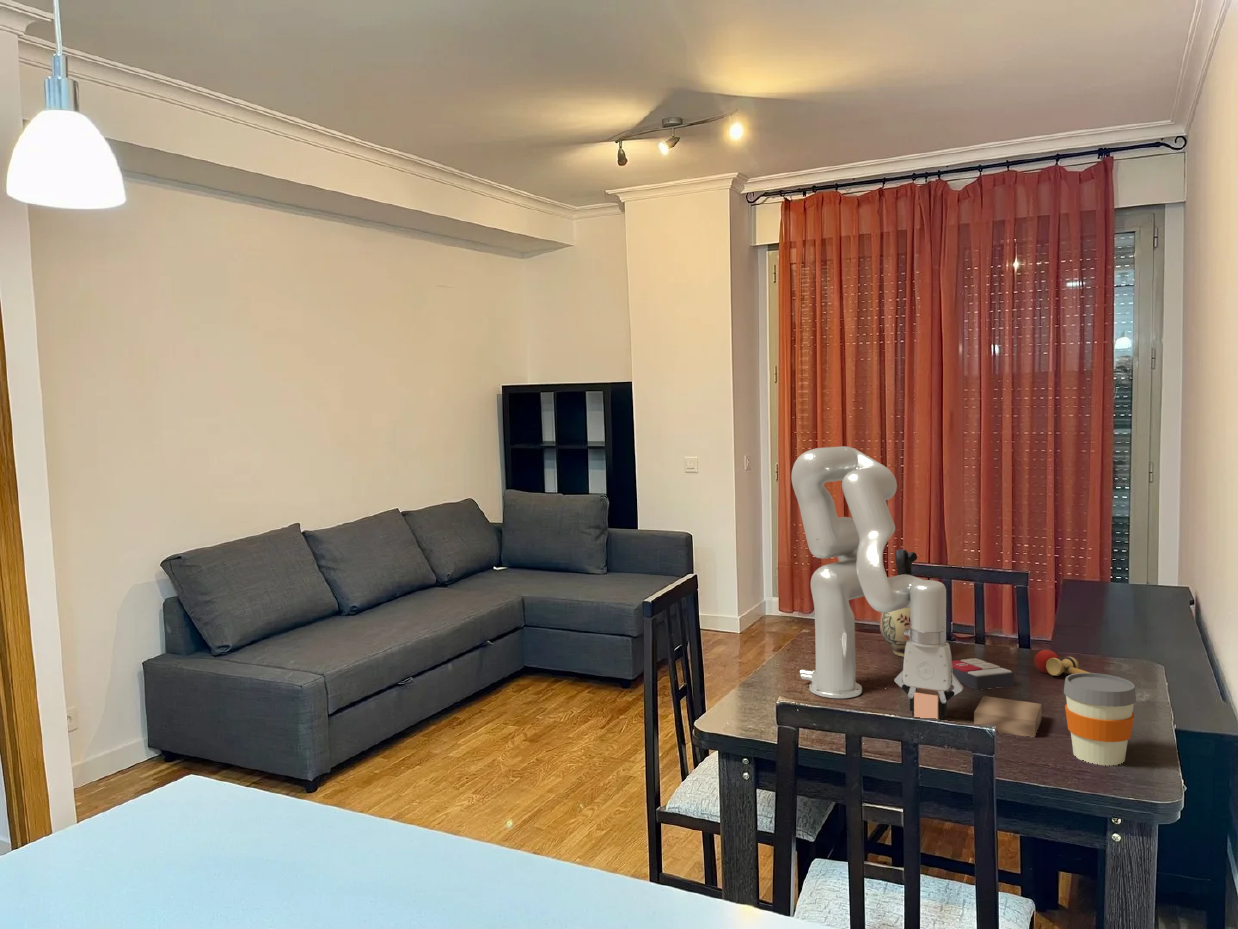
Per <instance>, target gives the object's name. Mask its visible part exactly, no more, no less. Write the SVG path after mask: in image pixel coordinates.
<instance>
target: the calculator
mask: <svg viewBox="0 0 1238 929" xmlns="http://www.w3.org/2000/svg"><path fill="white" fill-rule="evenodd" d="M952 667H953V675H954V676H955V677H956V679H957V680H958V681H959V682H961V683H960V684H963V685H965V686H966V687H968V686H969V687H968V688H970V687H972V688H974V689H976V690H975V691H977V690H979V691H982V690H981V689H988V688H996V687H1004V688H1009V687H1010V688H1011V687H1015V672H1013V671H1012V670H1010V669H1007V668H1003V667H1001V666H999V665H997V664H994V663H992V662H987V661H985V660H982V659H979V658H975V657H974V658H973V657H972V658H965V659H960V660H958V659H957V660H956V659H955V660H952ZM972 688H971V689H972ZM974 689H973V690H974ZM996 689H997V688H996ZM988 690H989V689H988Z"/></svg>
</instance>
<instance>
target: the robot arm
mask: <svg viewBox="0 0 1238 929" xmlns="http://www.w3.org/2000/svg"><path fill="white" fill-rule="evenodd" d="M893 473H894V472H892V471H891V469H889V468H888V467H887V466H885V465H884V464H882V463H880V462H879V461H877V460H875V459H873V458H872V457H870V456H868V455H866V454H865V453H863V452H862V451H859V450H858V449H856V448H854V447H851V446H845V445H844V446H828V447H817V448H813V449H809V450H806V451H805V452H803V453H801V455H799V456H798V457H797V459H796V460H795V461H794V463H793V467H792V470H791V484H792V485H791V486H792V488H793V490H794V495H795V497H796V499H797V500H796V501H797V503H798V507H799V511H800V516H801V520H802V521H801V522H802V525H803V529H804V534H805V539H806V542H807V546H808V549H809V552H810V553H811V555H812V556H814V557H815V558H816V559H822V560H823V559H831V558H837V560H838V562H832V563H828V564H824V565H822V566H820V567H818V568H817V569H816V570H815V571H814V572H813V574H812V575H811V577H810V578H811V579H810V591H811V595H812V601H813V608H814V609H813V610H814V629H815V633H814V634H815V635H814V636H815V643H814V644H815V647H814V648H815V669H813V670H808V669H803V668H801V669H800V670H799V676H800V677H801V679H802V680H804V681H805V680H808V681H810V683H809V691H810V692H811V693H812V694H814V695H816V696H820V697H823V698H829V699H849V698H850V699H851V698H855V697H858V696H860V695H861V694H862V693H863V687H862V685H861V684H859V683H858V682H856V623H855V622H856V619H855V615H854V612H853V609H852V607H851V605H850V600H851V601H852V600H854V599H859V598H862V597H864V598H865V600H866V602H867V603H868V604H869V606H870V607H871V608H872V609H873V610H874V611H876V612H878V613H880V614H881V613H887V612H892V611H895V610H899V609H904V608H909V607H910V628H909V629H904V635H907V636H909V637H910V640H908V641H907V642H906V647H905V654H904V657H903V666H902V671H901V672H900V673H898V675H897V676H896V677H895V678H894V679H893V680H894V682H895V683H896V684H897V685H898V686H899V687H900V688H901V689H902V691H904V692H905V694H906V695H907V697H908V699H909V711H911V716H912V717H914V693H915V692H916V690H917V689H918V688H922V689H929V690H936V691H938V693H939V697H940V702H939V704H938V719H942V720H943V719H944V718H943V717H946V716H947V715H948V714H947V712H948V707H947V706H948V701H949V700H951V699H952V698H953V697H954V696H956V695H957V694H959V693H961V692H963V690H964V686H963V685H962V683H960V682H959V681H958V680H957V679H956V677H955V676H954V675H953V667H952V661H953V660H952V652H951V647H950V644H949V643H948V642H947V588H946V586H945V584H944V583H942V582H940V581H938V580H932V579H923V578H920V577H916V576H914V575H912V576H911V575H905V574H903V575H898V574H897V575H894V576H889V577H888V576H887V572H886V570H885V566H884V560H883V559H884V557H883V556H884V550H885V548H886V545H887V543H888V541H889V540H890V539H891V537H892V536H893V535H894V533H895V531H896V525H895V522H894V520H893V518H892V514H891V513H890V510H889V505H888V504H887V501H888V500H891V499H892V498H893V497H894V495H895V494H896V492H897V489H898V484H897V479H896V476H895V474H893ZM839 481H842V482H841V489H842V492H843V496H844V498H845V501H846V504H847V506H848V510H849V512H850V516H851V517H849V516H840V517H839V516H838V513H837V510H836V504H835V501H834V499H833V496H832V495H831V493H830V492H829V490H828V489H827V488H826V487H825V484H826V483H832V482H839ZM951 686H953V688H952V689H951Z"/></svg>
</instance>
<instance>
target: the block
mask: <svg viewBox="0 0 1238 929" xmlns="http://www.w3.org/2000/svg"><path fill="white" fill-rule="evenodd" d="M939 702H940V697H939V693H938V691H936V690H929V689H922V688H918V689H917V690H916V692H915V693H914V716H913V718H914V717H920V718H936V719H938V704H939Z"/></svg>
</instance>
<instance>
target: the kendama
mask: <svg viewBox="0 0 1238 929" xmlns="http://www.w3.org/2000/svg"><path fill="white" fill-rule="evenodd" d="M1034 665H1035V667H1036V669H1038V670H1039V671H1040V672H1042V673H1044V674H1047V673H1048V675H1050V676H1056V677H1057V676H1060V675H1062V674H1063V675H1065V676H1067V675H1071V674H1076V673H1091V672H1089V671H1087V670H1083V669H1080V665H1079V662H1078V661H1077V659H1076V658H1075V657H1073V656H1064V657H1062V658H1061V659H1060V656H1059V655H1058V654H1057V653H1056V652H1055V651H1054V650H1050V649H1042V650H1040V651H1039V650H1038V652H1037V653H1036V654H1035V656H1034Z"/></svg>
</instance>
